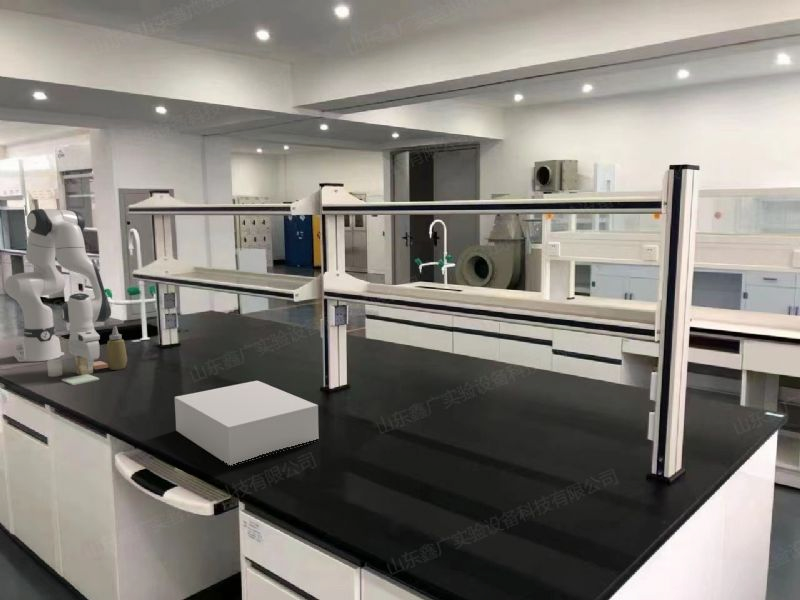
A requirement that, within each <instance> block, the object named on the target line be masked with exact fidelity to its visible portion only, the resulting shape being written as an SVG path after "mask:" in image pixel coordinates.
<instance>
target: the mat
mask: <svg viewBox="0 0 800 600" xmlns="http://www.w3.org/2000/svg"><path fill="white" fill-rule="evenodd" d="M99 380H100V378H99V377H97V376H94V375H92V374H85V375H80V374H79V375H77V376H71V377H67V378H62V379H61V381H62V382H64V383H67V384H69V385H71V386H75V385H81V384H85V383H92V382H95V381H99Z"/></svg>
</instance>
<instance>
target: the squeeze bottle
mask: <svg viewBox="0 0 800 600" xmlns="http://www.w3.org/2000/svg"><path fill="white" fill-rule="evenodd" d="M111 332H112V333H111V334H109V340H108V341H107V342H106V343H107V344H106V363H107V364H108V368H109V370H111V371H112V370H113V371H117V370H118V371H119V370H120V371H121V370H123V369H125V368H126V366H127V362H128V355H127V349H126V344H125V340H124V339H123V338H122V334H121V333H119V331H118V327H117V325H114V326H113V327H112V331H111Z"/></svg>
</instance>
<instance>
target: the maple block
mask: <svg viewBox="0 0 800 600" xmlns="http://www.w3.org/2000/svg"><path fill="white" fill-rule="evenodd" d="M75 365H76V374H77V375H79V376H80V375H86V374H89V375H91V374H93V373H94V369H91V370H89V369H87V365H88V361H87V359H85V358H82V357H79V356H76V360H75Z"/></svg>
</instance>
